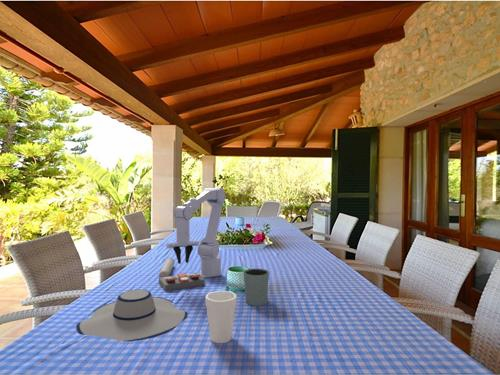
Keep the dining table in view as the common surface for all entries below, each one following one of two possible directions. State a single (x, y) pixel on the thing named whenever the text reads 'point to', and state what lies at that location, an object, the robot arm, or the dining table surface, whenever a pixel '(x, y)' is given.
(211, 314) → the foam cup
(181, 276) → the rocker
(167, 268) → the tube
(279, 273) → the dining table surface
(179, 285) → the switch panel
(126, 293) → the sun hat
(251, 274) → the grey-green pot
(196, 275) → the rocker
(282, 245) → the dining table surface
